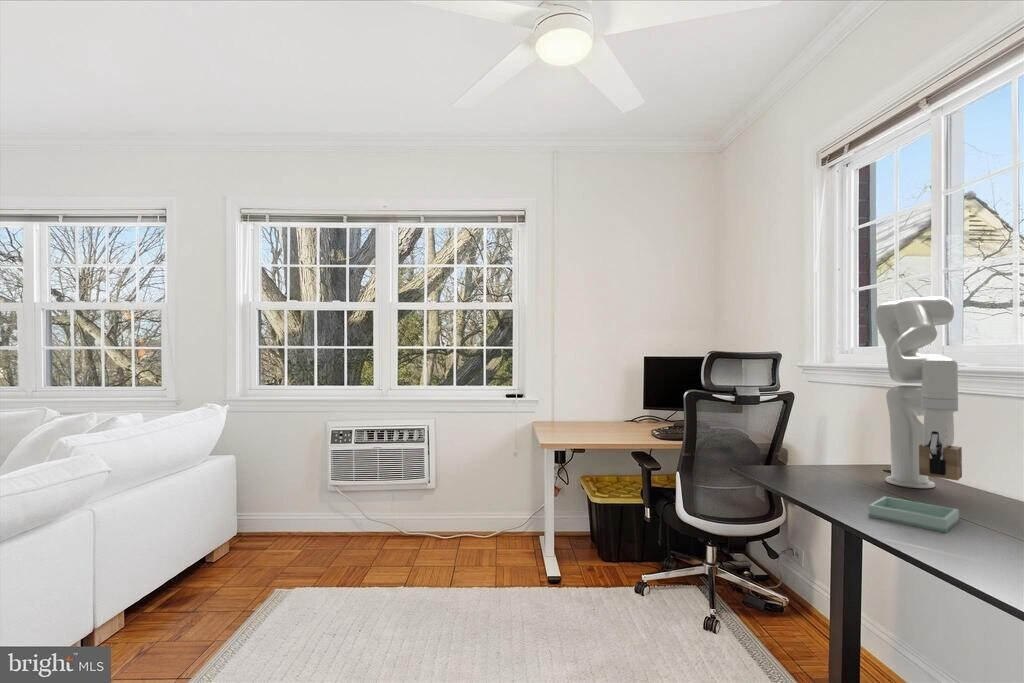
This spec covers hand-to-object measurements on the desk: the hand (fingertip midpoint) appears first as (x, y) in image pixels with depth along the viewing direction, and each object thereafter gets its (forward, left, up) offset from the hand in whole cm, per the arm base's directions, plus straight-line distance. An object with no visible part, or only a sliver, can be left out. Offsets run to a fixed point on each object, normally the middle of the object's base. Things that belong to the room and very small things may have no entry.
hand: (940, 471), depth 139 cm
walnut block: (0, 0, -1) cm, 1 cm away
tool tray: (+15, -3, -10) cm, 18 cm away
